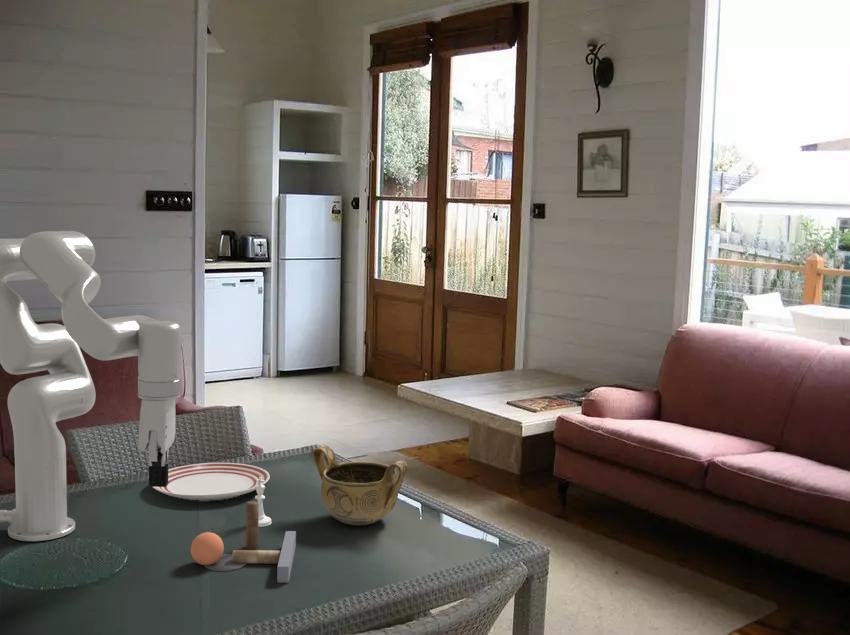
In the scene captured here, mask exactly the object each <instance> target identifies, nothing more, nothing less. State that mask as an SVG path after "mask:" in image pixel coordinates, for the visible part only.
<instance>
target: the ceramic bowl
mask: <svg viewBox="0 0 850 635" xmlns="http://www.w3.org/2000/svg"><path fill="white" fill-rule="evenodd" d="M312 458H313V460H314V463H315V466H316V469H317V471H318V474H319V477H320V480H321V498H322V501H323V505H324V507H325V509H326V510H327V512H328V513H329V514H330V515H331V516H332V517H333V518H334V519H335V520H337V521H339V522H341V523H343V524H346V525H350V526H354V525H355V526H357V527H359V526H360V527H361V526H362V525H363V526H367V525H371V524H374V523H376V522H378V521H380V520H382V519H384V518H385V517H386V516H387V515H388V514H390V513H391V511H392V510H393V509H394V508H395V506H396V504H397V502H398V497H399V493H400V490H401V487H402V485H403V483H404V480H405V478H406V476H407V474H408V471H409V465H408V464H407V462H406V461H405V460H402V459H400V460H397V461H396V462H394V463H392V464H384V463H380V462H375V461H345V462H340V463H339V462H338V461H337V456H336V454H335V452H334V450H333V448H332V447H331V446H329V445H327V444H323V445H321V446H318V447H316V448H315V449H313V451H312ZM396 468H397V469H398V470H399V474H398V470H397V469H396Z"/></svg>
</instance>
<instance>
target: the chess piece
mask: <svg viewBox="0 0 850 635" xmlns="http://www.w3.org/2000/svg"><path fill="white" fill-rule="evenodd" d="M256 482H259V485H256V486H255V488H256V490H255V491H256V494H257V495H255V496H254V499H255V500H257V502H258V503H259V520H258V528H263V527H267V526H268V527H269V526H270V525H271V524H272V519H271V517H269V516H266V514H265V512H264V504H263V500H265V499H266V496H265V495H264V492H265V488H266V486H265V484H264V485H262V483H264V480H262V477H259V480H256Z"/></svg>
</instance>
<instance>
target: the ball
mask: <svg viewBox="0 0 850 635" xmlns="http://www.w3.org/2000/svg"><path fill="white" fill-rule="evenodd" d="M224 546H225V545H224V542H223V539H222V538H221V537H220V536H219V535H217V533H214V532H209V531H206V532H203V533H200V534H199V535H197V536H195V537H194V539H193V541H192V542H191V545H190V554H191V556H192V559H193V560H194V561H195V562H196V563H197V564H199V565H202V566H204V565H212V564H214V563H216V562H217V561H218V560H219V559H220V558H221V556H222V554H224V550H225V547H224Z"/></svg>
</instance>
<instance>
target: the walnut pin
mask: <svg viewBox="0 0 850 635" xmlns="http://www.w3.org/2000/svg"><path fill="white" fill-rule="evenodd" d="M245 519H246V520H245V550H258V548H259V527H258V520H259V503H258V501H255V500H252V501H247V502H246V506H245Z"/></svg>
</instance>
